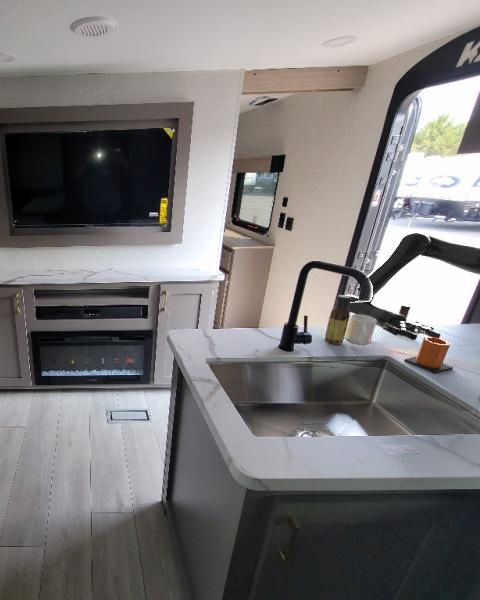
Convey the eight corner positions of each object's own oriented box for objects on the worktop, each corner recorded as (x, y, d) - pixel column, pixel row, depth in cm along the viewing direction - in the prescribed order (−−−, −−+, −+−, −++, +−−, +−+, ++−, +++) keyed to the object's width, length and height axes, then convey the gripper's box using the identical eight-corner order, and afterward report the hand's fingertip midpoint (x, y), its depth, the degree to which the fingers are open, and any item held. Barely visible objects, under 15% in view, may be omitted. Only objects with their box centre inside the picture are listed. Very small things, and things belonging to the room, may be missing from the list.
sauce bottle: (344, 346, 132) (358, 300, 125) (326, 343, 134) (338, 298, 127) (339, 338, 137) (351, 294, 130) (321, 336, 139) (333, 293, 132)
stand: (393, 328, 145) (402, 301, 140) (412, 335, 138) (422, 306, 134) (381, 330, 143) (390, 303, 138) (400, 337, 137) (410, 309, 132)
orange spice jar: (411, 358, 120) (419, 337, 117) (427, 358, 120) (436, 336, 117) (428, 368, 114) (437, 345, 111) (445, 367, 114) (455, 344, 111)
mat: (421, 356, 122) (421, 354, 122) (452, 369, 114) (453, 367, 114) (404, 360, 120) (404, 358, 120) (434, 373, 112) (435, 371, 112)
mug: (373, 351, 127) (381, 327, 123) (346, 346, 131) (353, 323, 127) (367, 338, 137) (374, 316, 133) (342, 334, 141) (349, 312, 137)
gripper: (371, 311, 131) (411, 328, 115) (406, 309, 131) (450, 327, 116) (366, 327, 133) (404, 347, 118) (400, 326, 134) (442, 345, 118)
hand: (427, 337), depth 117 cm, fingers open, 8 cm apart
